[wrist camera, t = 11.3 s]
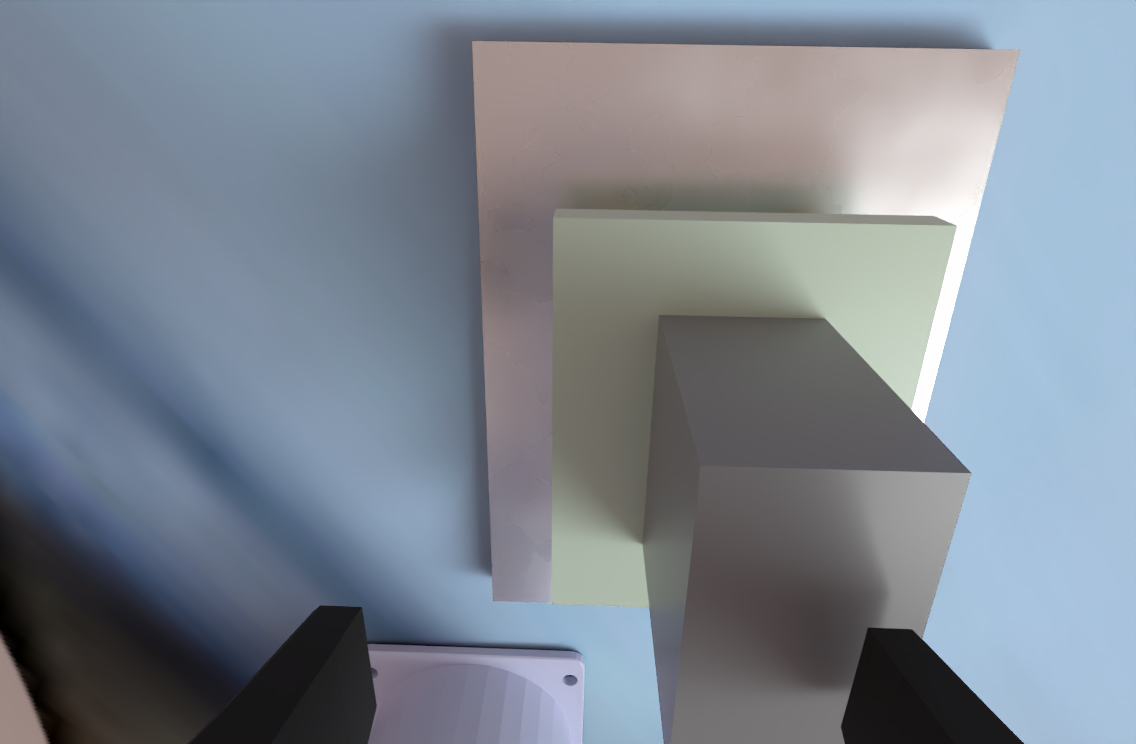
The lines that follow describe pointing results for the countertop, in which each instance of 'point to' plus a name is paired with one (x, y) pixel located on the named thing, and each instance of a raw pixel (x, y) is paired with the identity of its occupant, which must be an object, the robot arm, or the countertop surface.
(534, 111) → the plate
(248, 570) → the countertop surface
